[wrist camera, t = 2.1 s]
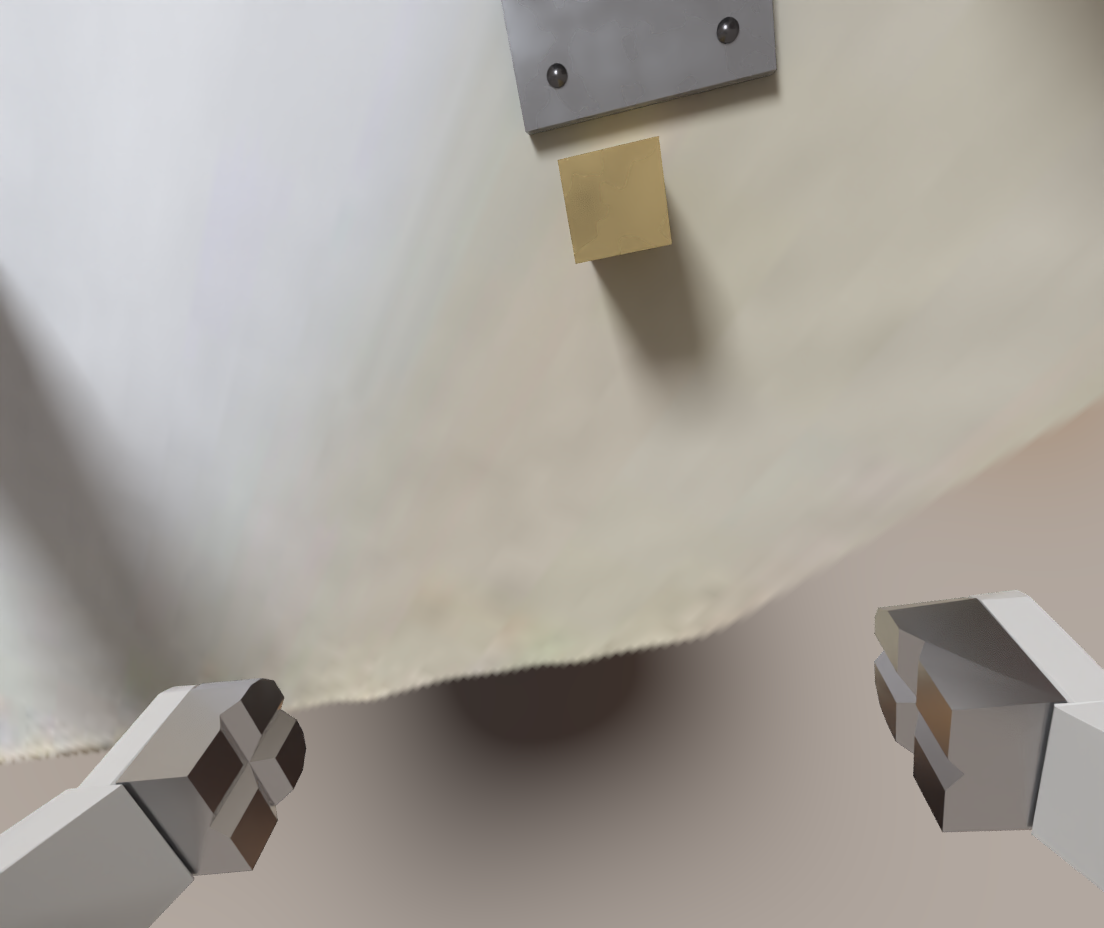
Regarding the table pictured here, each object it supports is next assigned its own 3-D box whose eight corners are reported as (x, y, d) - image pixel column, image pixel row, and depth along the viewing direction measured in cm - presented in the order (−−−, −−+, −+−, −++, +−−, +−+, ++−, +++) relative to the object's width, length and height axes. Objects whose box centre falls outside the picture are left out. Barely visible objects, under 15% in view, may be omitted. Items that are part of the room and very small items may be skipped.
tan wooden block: (665, 242, 32) (673, 243, 24) (589, 257, 33) (575, 263, 25) (654, 160, 31) (660, 135, 23) (576, 178, 31) (557, 159, 24)
